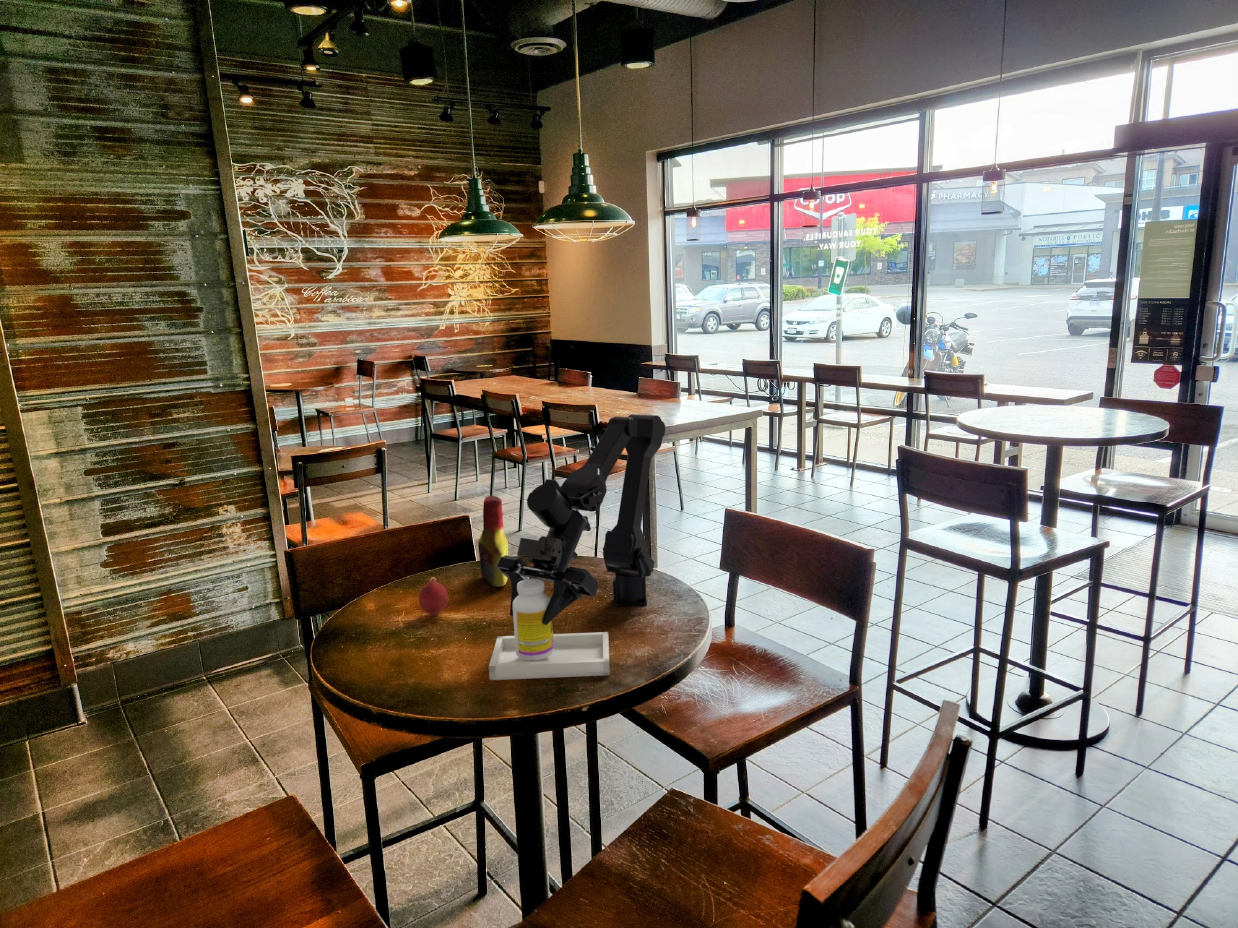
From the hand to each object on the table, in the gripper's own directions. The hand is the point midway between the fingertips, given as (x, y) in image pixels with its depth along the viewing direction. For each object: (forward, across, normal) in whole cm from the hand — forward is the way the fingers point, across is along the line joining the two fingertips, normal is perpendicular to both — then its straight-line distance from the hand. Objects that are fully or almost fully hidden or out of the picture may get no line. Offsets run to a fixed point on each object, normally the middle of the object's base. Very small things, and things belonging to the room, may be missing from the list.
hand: (527, 620), depth 134 cm
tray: (+4, +2, +8) cm, 9 cm away
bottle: (-15, -33, +28) cm, 46 cm away
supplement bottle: (+4, 0, +6) cm, 7 cm away
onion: (0, -31, +12) cm, 34 cm away
